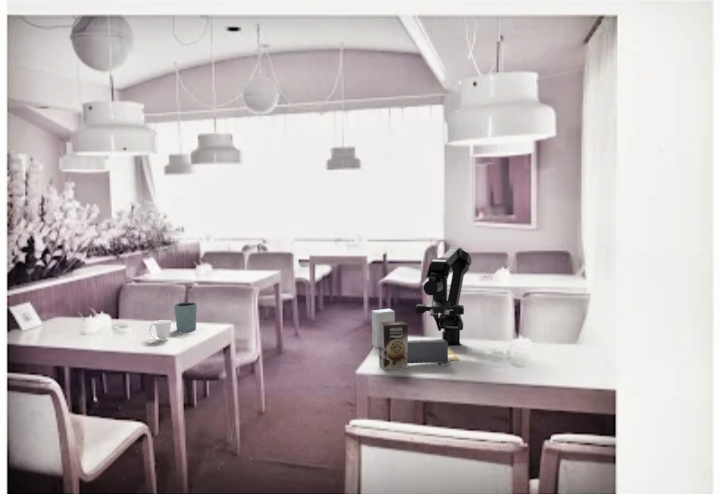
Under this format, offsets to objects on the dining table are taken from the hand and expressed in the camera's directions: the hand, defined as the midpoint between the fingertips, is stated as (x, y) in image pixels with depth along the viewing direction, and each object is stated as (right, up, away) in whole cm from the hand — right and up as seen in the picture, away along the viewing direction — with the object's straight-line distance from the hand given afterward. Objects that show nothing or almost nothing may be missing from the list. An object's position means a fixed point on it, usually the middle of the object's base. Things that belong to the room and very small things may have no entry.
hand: (439, 330), depth 249 cm
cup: (-117, -7, +23) cm, 120 cm away
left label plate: (+2, -9, -9) cm, 13 cm away
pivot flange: (-1, -10, -17) cm, 20 cm away
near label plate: (+1, -8, 0) cm, 8 cm away
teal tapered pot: (-112, -5, +43) cm, 120 cm away
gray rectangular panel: (-7, -9, -18) cm, 22 cm away
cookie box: (-19, -11, -20) cm, 30 cm away
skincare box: (-22, -8, +10) cm, 25 cm away
